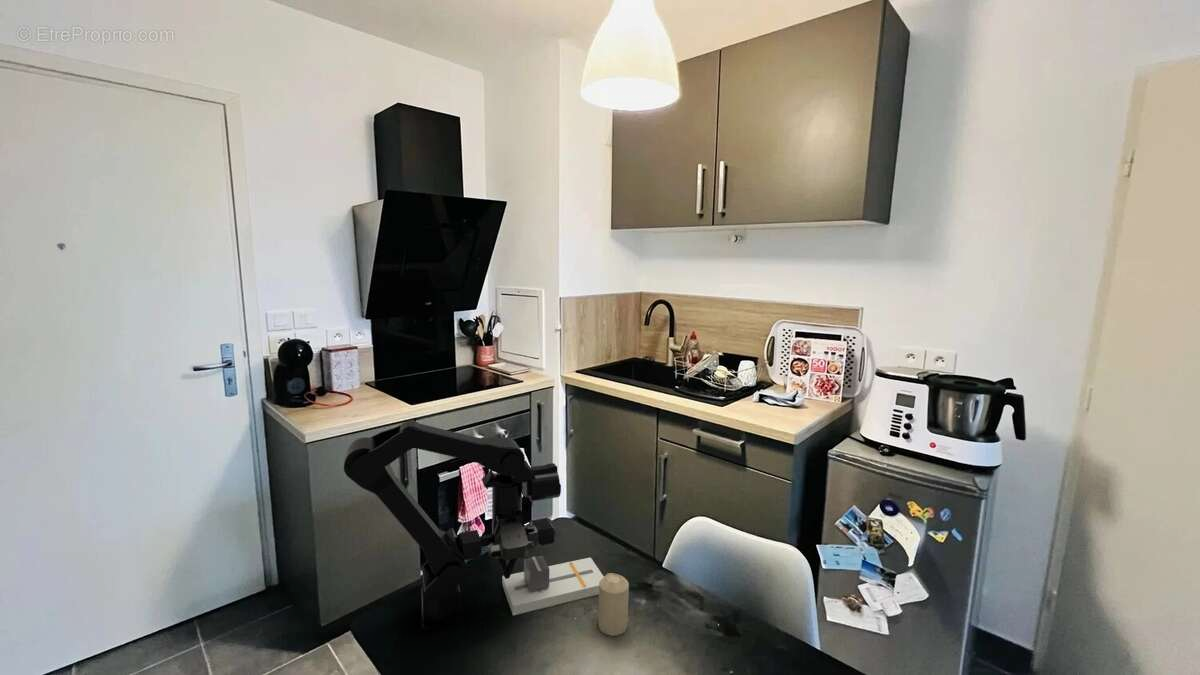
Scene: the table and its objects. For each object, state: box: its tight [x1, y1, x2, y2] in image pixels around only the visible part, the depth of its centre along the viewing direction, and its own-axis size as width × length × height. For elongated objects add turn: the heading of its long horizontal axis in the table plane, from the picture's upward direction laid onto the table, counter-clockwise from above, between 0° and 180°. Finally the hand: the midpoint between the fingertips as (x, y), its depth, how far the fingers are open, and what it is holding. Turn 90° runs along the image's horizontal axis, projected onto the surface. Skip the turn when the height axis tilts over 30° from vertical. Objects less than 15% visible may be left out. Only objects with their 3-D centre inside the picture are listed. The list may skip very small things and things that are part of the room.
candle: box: [597, 572, 630, 637], centre depth 92 cm, size 6×6×10 cm
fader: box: [523, 555, 549, 591], centre depth 101 cm, size 4×5×4 cm
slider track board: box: [501, 557, 605, 616], centre depth 103 cm, size 20×10×2 cm, turn 113°
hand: (506, 577), depth 99 cm, fingers closed
